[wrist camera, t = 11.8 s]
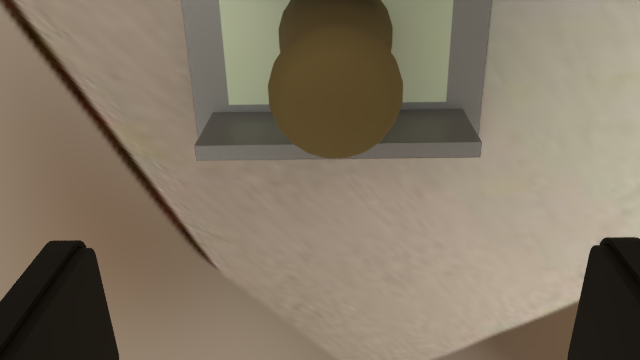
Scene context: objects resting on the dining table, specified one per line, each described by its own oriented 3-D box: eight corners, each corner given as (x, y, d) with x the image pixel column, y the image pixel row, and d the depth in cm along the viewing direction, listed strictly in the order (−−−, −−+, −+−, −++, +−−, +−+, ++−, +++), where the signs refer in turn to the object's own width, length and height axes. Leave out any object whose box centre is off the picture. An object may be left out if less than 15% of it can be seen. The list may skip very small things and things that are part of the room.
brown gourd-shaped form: (382, 99, 33) (402, 191, 23) (272, 84, 33) (245, 171, 23) (403, -14, 30) (435, 34, 20) (284, -31, 30) (258, 10, 20)
